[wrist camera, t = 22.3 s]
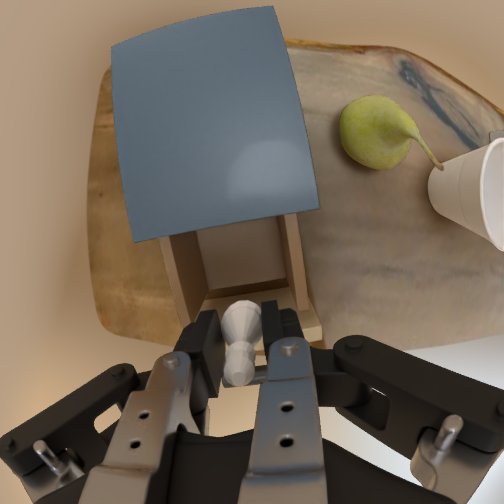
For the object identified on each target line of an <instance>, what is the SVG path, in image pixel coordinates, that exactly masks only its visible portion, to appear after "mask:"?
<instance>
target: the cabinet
mask: <svg viewBox="0 0 504 504" xmlns="http://www.w3.org/2000/svg"><path fill="white" fill-rule="evenodd" d="M111 76H112V99H113V114H114V125H115V135H116V144H117V152H118V160H119V167H120V174H121V180H122V186H123V192H124V197H125V203H126V208H127V213H128V218H129V223H130V228H131V232H132V237H133V241H134V243H137V242H142V241H146V240H151V239H156V238H161V237H166V236H171V235H176V234H181V233H186V232H191V231H196V230H201V229H207V228H212V227H217V226H223V225H228V224H234V223H239V222H245V221H250V220H256V219H262V218H268V217H274V216H280V215H286V214H292V213H298V212H304V211H311V210H317V209H320V203H319V197H318V191H317V184H316V178H315V173H314V167H313V161H312V156H311V151H310V146H309V141H308V136H307V131H306V126H305V121H304V117H303V112H302V108H301V103H300V99H299V95H298V91H297V87H296V83H295V79H294V75H293V71H292V67H291V63H290V60H289V56H288V52H287V49H286V45H285V42H284V39H283V35H282V32H281V29H280V26H279V22H278V19H277V16H276V13H275V10H274V7H273V6H264V7H255V8H246V9H239V10H232V11H226V12H221V13H216V14H211V15H206V16H201V17H197V18H193V19H189V20H185V21H181V22H178V23H174V24H171V25H168V26H164V27H162V28H158V29H155V30H152V31H149V32H146V33H144V34H141V35H138V36H136V37H133V38H130V39H128V40H125V41H123V42H121V43H118V44H116V45H114V46H112V47H111Z"/></svg>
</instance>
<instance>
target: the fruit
mask: <svg viewBox="0 0 504 504" xmlns="http://www.w3.org/2000/svg"><path fill="white" fill-rule="evenodd" d="M411 138H413V139H415V140H416V141H417V142H418V143H419V144H420V145H421V147H422V148H423V149H424V150H425V152H426V154H427V155H428V157H429V159H430V160H431V162H432V163H433V164H434V165H435V166H436V168H437V169H439V170H440V171H444V165H442V164H441V163H440V162H438V161H437V159H436V158H435V157H434V156H433V154H432V153H431V151H430V149H429V148H428V146H427V145H426V143H425V142H424V141H423V139H422V138H421V137H420V134H419V131H418V126H417V125H416V124H415V122H414V121H413V119H412V118H411V117H410V116H409V115H408V114H407V113H406V112H405V111H404V110H403V109H402V108H401V107H400V106H399V105H398V104H397V103H396V102H394V101H393V100H391V99H390V98H387V97H384V96H380V95H368V96H364V97H361V98H358V99H356V100H354V101H352V102H351V103H350V104H348V105H347V106H346V107H345V108H344V110H343V111H342V113H341V116H340V139H341V143H342V146H343V148H344V149H345V151H346V153H347V154H348V155H349V156H350V157H351V158H352V159H354V160H355V161H357V162H359V163H360V164H362V165H365V166H367V167H370V168H374V169H377V170H388V169H391V168H393V167H395V166H396V165H398V164H399V163H400V162H401V161H403V159H404V158H405V157H406V155H407V153H408V151H409V149H410V145H411Z"/></svg>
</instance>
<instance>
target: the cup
mask: <svg viewBox="0 0 504 504" xmlns="http://www.w3.org/2000/svg"><path fill="white" fill-rule="evenodd" d="M441 164H442V165H444V171H440V170H439V169H437V168H436V166H435V167H434V169H433V170H432V171H431V173H430V176H429V179H428V196H429V199H430V202H431V204H432V206H433V208H434V209H435V210H436V211H437V212H438V213H439V214H440V215H442V216H444V217H446V218H448V219H450V220H452V221H454V222H456V223H458V224H460V225H462V226H464V227H466V228H467V229H469V230H471V231H473V232H475V233H476V234H478V235H480V236H481V237H483V238H485V239H487V240H488V241H490V242H492V243H493V245H494V246H495V247H496V248H497V249H499V250H501V251H503V252H504V138H498V139H495V140H494V141H493V142H492V143H490V144H489V145H487V146H484V147H481V148H479V149H476V150H474V151H471V152H469V153H466V154H464V155H461V156H459V157H456V158H453V159H451V160H448V161H446V162H443V163H441Z"/></svg>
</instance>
